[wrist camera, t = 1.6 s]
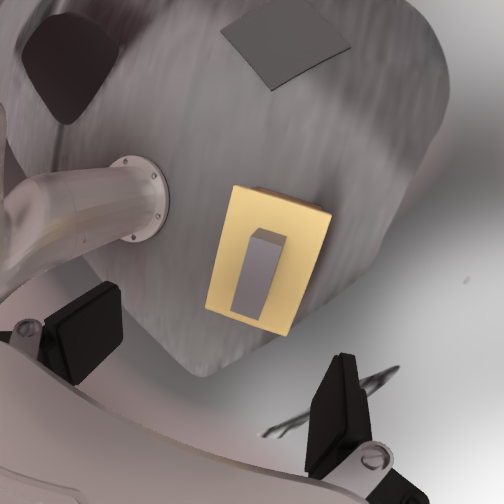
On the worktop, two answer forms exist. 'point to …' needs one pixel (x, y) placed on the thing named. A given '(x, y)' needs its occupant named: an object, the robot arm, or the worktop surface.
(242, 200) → the lid
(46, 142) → the worktop surface
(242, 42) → the mat
